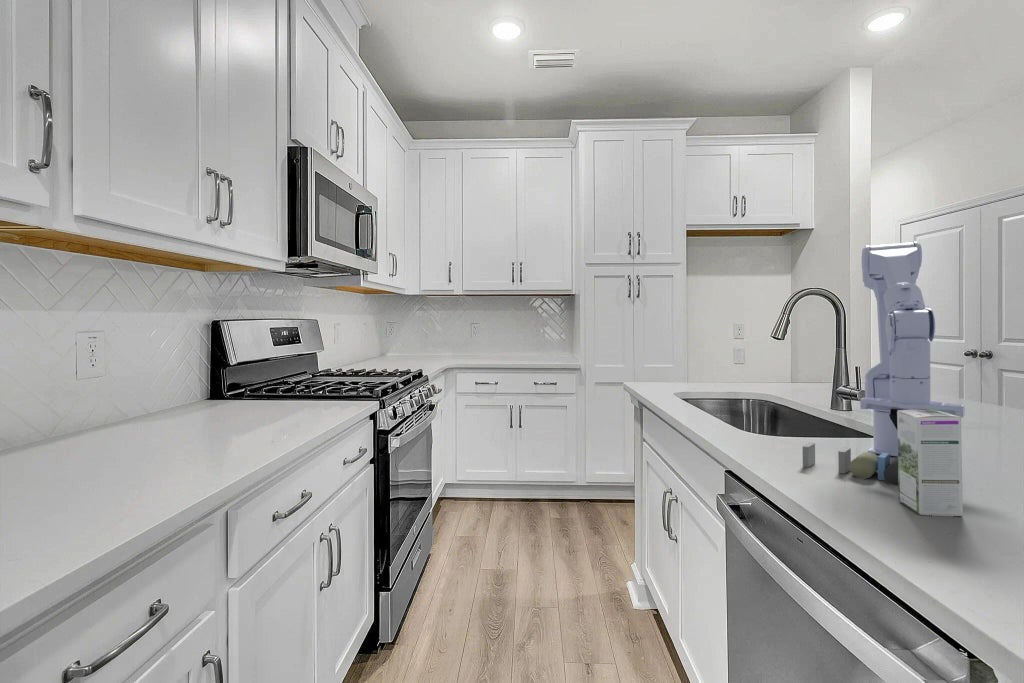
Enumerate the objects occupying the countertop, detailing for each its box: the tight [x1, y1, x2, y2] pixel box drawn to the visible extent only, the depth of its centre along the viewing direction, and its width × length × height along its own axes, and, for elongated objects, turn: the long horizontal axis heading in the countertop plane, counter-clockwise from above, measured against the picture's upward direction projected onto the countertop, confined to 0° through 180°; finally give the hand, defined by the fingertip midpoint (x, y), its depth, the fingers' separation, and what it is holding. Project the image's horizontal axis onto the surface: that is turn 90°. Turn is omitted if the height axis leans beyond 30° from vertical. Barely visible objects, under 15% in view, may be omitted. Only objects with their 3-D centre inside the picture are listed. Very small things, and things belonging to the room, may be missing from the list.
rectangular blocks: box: [802, 442, 891, 481], centre depth 92 cm, size 4×19×4 cm, turn 43°
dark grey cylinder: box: [884, 456, 898, 486], centre depth 89 cm, size 10×4×4 cm, turn 133°
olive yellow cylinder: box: [849, 451, 879, 480], centre depth 92 cm, size 6×4×4 cm, turn 133°
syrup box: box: [897, 409, 964, 517], centre depth 75 cm, size 6×6×14 cm
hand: (909, 452), depth 91 cm, fingers closed
